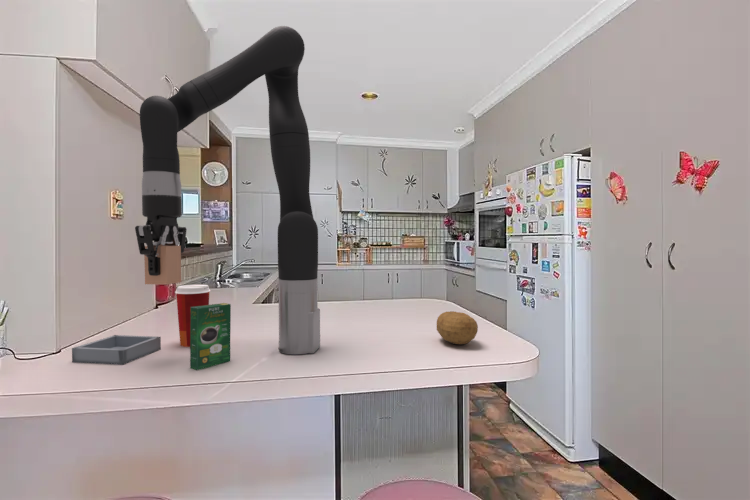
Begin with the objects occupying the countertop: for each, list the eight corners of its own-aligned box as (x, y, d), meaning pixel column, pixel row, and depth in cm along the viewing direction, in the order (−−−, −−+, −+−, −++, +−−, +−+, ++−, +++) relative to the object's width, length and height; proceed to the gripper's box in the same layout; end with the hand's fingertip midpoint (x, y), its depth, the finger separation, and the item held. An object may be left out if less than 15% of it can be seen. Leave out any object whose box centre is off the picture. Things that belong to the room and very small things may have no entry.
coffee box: (224, 360, 91) (223, 301, 90) (232, 363, 89) (231, 302, 88) (189, 370, 84) (188, 306, 84) (197, 373, 82) (196, 308, 82)
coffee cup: (217, 341, 107) (216, 284, 106) (200, 350, 98) (200, 288, 98) (186, 341, 107) (185, 283, 107) (167, 349, 99) (166, 287, 99)
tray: (160, 351, 98) (160, 336, 98) (123, 367, 86) (122, 350, 86) (115, 349, 99) (115, 334, 99) (72, 364, 88) (71, 348, 87)
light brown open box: (181, 281, 91) (180, 245, 90) (166, 284, 86) (166, 246, 85) (160, 281, 91) (159, 245, 91) (145, 284, 86) (144, 246, 86)
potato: (459, 335, 114) (460, 306, 114) (486, 348, 100) (487, 316, 100) (427, 337, 111) (427, 308, 111) (450, 351, 98) (450, 318, 98)
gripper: (155, 190, 80) (157, 277, 81) (197, 197, 94) (198, 271, 95) (121, 191, 81) (122, 277, 82) (167, 198, 95) (168, 271, 96)
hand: (163, 273), depth 88 cm, fingers closed on light brown open box, 5 cm apart
